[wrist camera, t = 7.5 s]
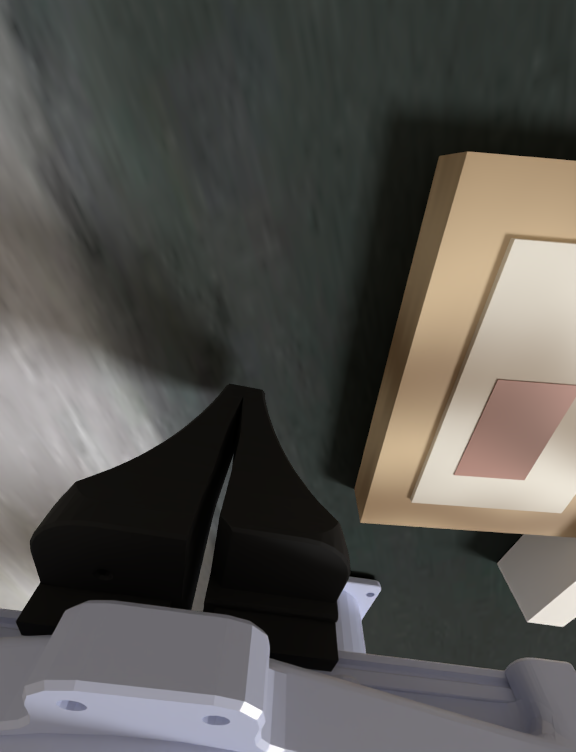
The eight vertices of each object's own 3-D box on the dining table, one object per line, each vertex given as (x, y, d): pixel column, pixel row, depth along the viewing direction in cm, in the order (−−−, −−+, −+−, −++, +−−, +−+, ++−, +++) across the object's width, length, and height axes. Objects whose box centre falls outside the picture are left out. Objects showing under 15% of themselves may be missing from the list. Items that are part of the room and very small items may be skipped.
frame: (544, 494, 17) (581, 542, 15) (352, 481, 17) (361, 527, 15) (756, 184, 10) (888, 186, 8) (432, 157, 10) (471, 150, 8)
